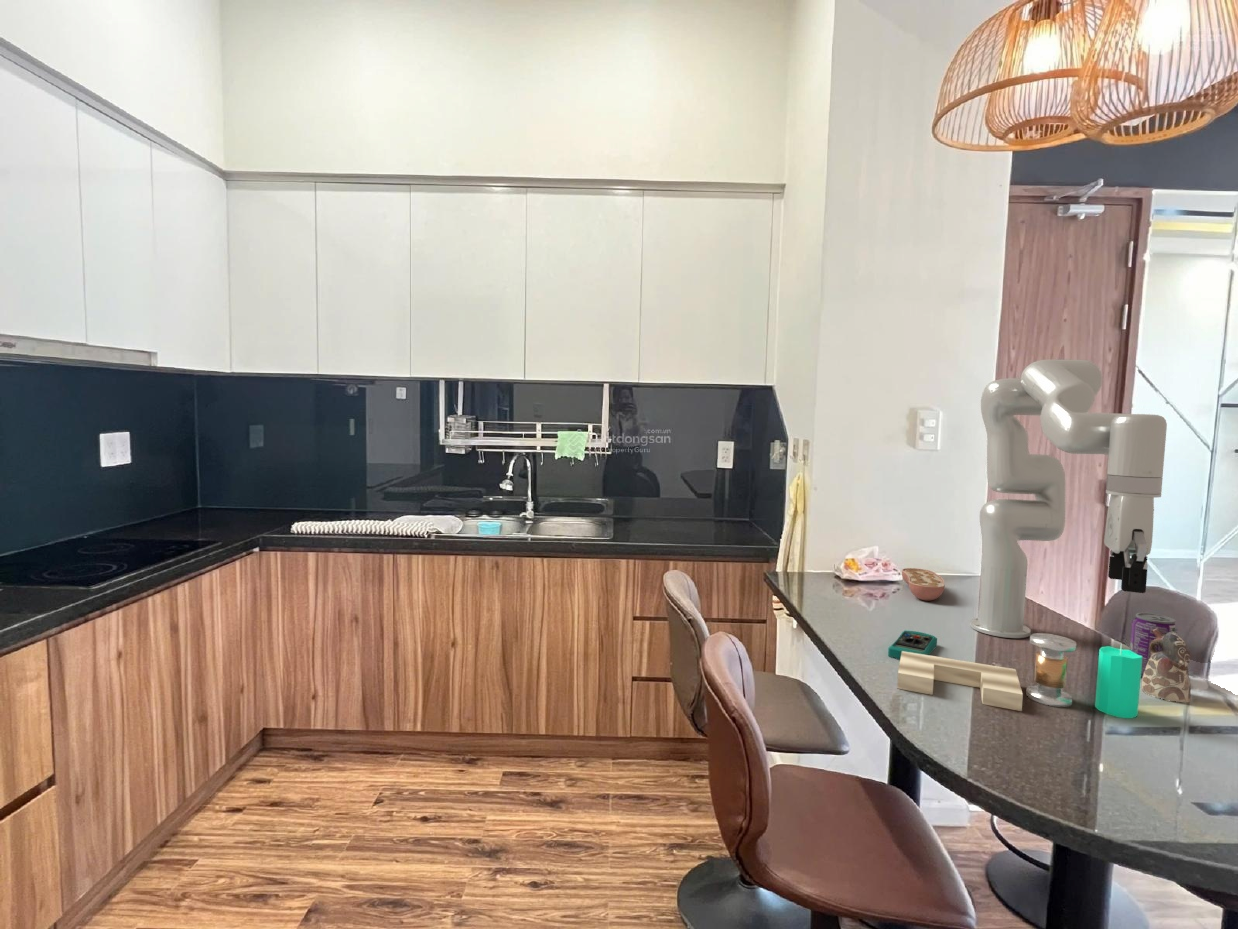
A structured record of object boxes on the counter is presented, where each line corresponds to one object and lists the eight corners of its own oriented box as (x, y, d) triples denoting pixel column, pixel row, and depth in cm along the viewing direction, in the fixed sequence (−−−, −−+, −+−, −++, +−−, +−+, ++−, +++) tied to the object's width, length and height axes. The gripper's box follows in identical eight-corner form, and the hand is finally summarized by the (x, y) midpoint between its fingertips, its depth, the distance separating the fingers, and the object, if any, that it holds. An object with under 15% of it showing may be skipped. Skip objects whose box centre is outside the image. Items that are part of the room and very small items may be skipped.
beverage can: (1163, 672, 135) (1168, 614, 134) (1180, 685, 128) (1185, 624, 127) (1122, 667, 137) (1127, 610, 136) (1136, 680, 131) (1141, 620, 130)
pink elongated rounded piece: (899, 583, 205) (899, 567, 204) (934, 586, 202) (935, 569, 202) (910, 603, 183) (911, 585, 182) (949, 606, 180) (951, 588, 180)
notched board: (901, 665, 136) (901, 651, 136) (1014, 684, 127) (1015, 669, 127) (897, 688, 124) (897, 672, 124) (1021, 711, 115) (1022, 694, 115)
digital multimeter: (937, 647, 148) (938, 634, 148) (924, 667, 136) (925, 653, 136) (902, 640, 153) (903, 628, 152) (887, 659, 140) (887, 645, 140)
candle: (1139, 721, 112) (1145, 652, 111) (1096, 712, 116) (1101, 645, 115) (1135, 708, 117) (1140, 642, 117) (1093, 700, 121) (1098, 635, 120)
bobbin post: (1024, 688, 126) (1028, 631, 125) (1068, 695, 122) (1072, 637, 122) (1028, 702, 119) (1032, 642, 118) (1075, 710, 116) (1079, 649, 115)
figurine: (1176, 705, 119) (1182, 640, 118) (1132, 690, 126) (1137, 628, 125) (1199, 699, 122) (1204, 635, 121) (1155, 684, 129) (1160, 623, 128)
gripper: (1096, 481, 123) (1089, 572, 124) (1118, 489, 107) (1110, 594, 109) (1146, 483, 120) (1139, 577, 121) (1177, 492, 104) (1168, 600, 105)
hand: (1125, 585), depth 115 cm, fingers open, 9 cm apart
